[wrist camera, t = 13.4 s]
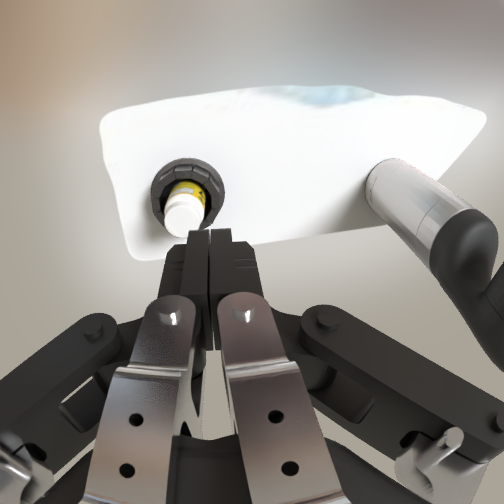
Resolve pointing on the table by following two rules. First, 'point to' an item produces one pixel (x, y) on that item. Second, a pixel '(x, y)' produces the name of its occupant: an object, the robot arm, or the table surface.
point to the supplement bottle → (185, 207)
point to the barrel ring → (192, 171)
